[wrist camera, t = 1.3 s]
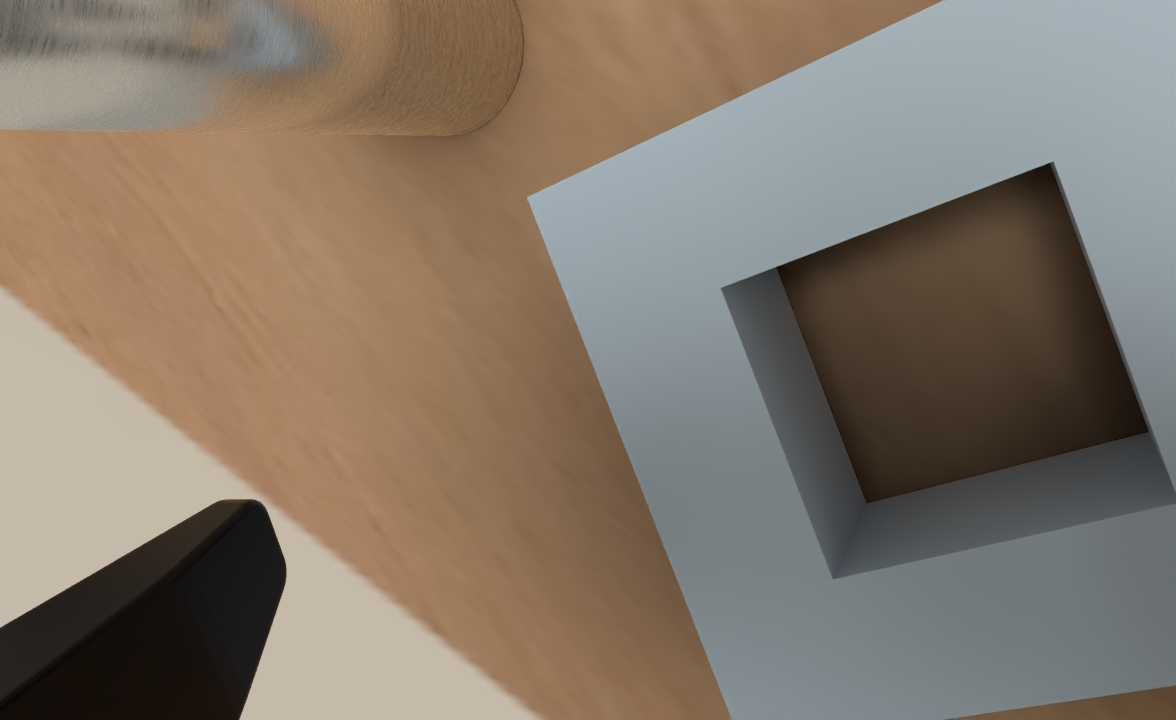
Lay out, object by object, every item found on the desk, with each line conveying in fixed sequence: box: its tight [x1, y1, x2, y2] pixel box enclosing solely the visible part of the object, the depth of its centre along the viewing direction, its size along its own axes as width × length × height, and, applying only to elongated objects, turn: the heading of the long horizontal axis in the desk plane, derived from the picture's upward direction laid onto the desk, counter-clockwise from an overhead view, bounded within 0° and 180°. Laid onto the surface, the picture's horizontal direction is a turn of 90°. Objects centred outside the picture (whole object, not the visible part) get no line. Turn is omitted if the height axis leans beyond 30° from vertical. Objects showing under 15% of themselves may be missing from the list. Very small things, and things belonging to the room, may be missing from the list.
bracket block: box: [527, 0, 1176, 720], centre depth 17 cm, size 11×11×4 cm
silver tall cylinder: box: [0, 0, 523, 136], centre depth 16 cm, size 4×4×14 cm
